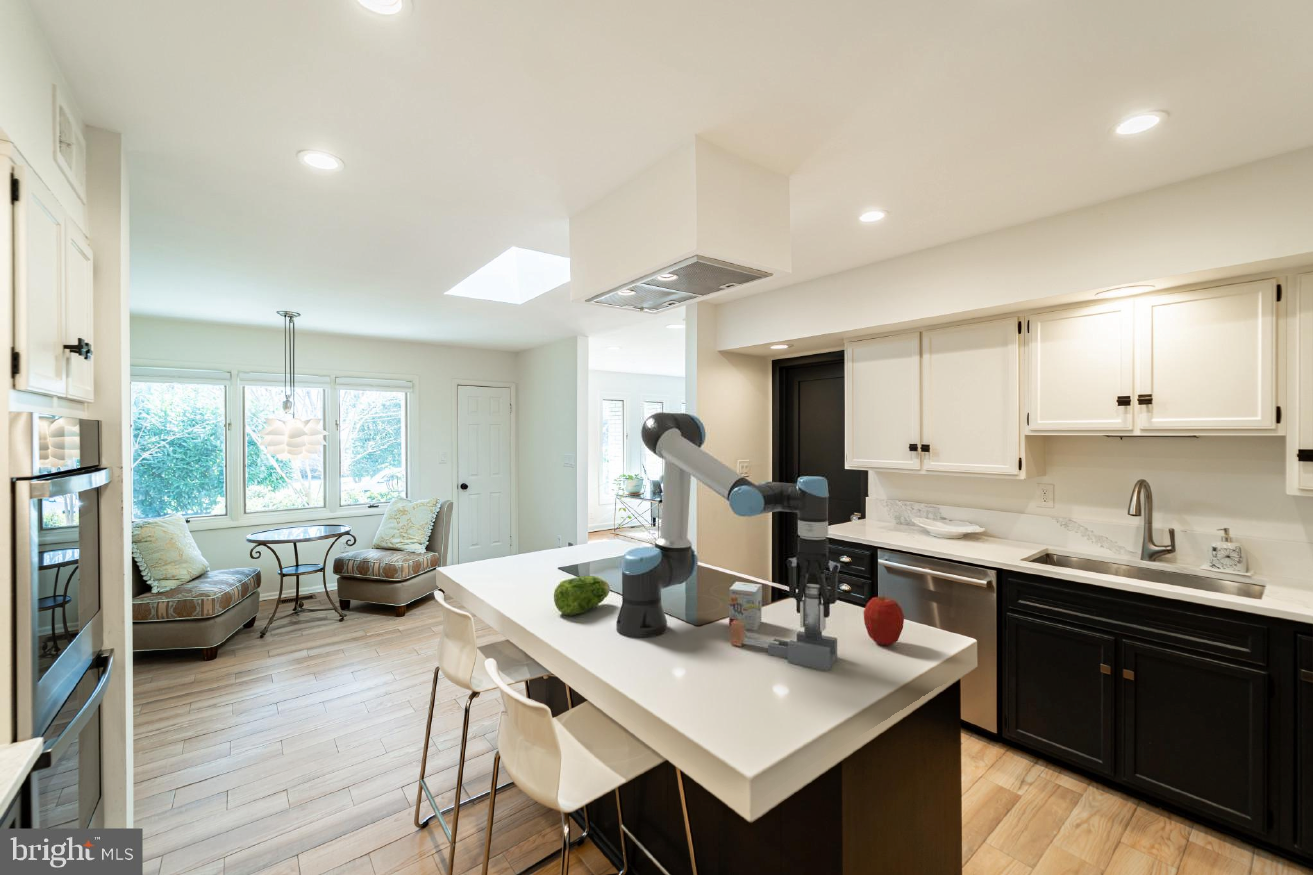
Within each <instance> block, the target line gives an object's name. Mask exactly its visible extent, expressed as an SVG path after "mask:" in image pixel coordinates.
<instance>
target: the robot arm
mask: <svg viewBox="0 0 1313 875" xmlns="http://www.w3.org/2000/svg"><path fill="white" fill-rule="evenodd" d="M640 434H641V435H640V436H641V440H642V443H643V445H644V446H645V447H646V448H647V449H648V450H649V451H650V452H651V453H653V454H654V455H655V456H656V457H659V459H662V460H663V461H664V464H663V465H664V468H663V481H662V482H663V483H662V485H663V486H662V497H661V498H662V500H661V501H662V502H661V514H660V516H661V517H660V518H661V519H660V520H661V521H660V532H659V534H660V536H659V537H658V538H657V539H655V540H654V546H643V547H635V548H632V549H630V550H629V549H628V551H626V552H625V553H624V554H623V556H622V562H621V564H622V565H621V585H622V586H621V589H622V590H621V592H622V593H621V594H622V595H621V598H622V599H621V602H622V603H621V606H620V610H619V612H618V615H617V619H616V622H615V623H616V624H615V625H616V626H615V628H616V629H615V630H616V632H617V633H619V634H620V635H623V636H625V637H632V638H650V637H656V636H660V635H663V634H664V633H666V632H667V630H668V619H667V617H666V613H665V610H664V607H663V604H662V589H667V588H670V587H673V586H677V585H682V584H684V583H685V582H688V581H690V580H691V579H692V578H693V577H695V574H696V572H697V570H698V565H699V561H698V560H699V559H698V556H697V554H696V551H695V549H694V548H693V547H692V546H693V543H692V541H691V540H690V539H689V538H688V530H689V515H690V500H691V498H690V497H691V481H692V480H691V479H692V477H693V478H694V479H696V480H697V481H698V482H700V483H702V484H703V485H704V486H706V487H707V488H709V489H711V491H713V492H714V493H715V494H717V495H719V496H721V497H722V498H723V499H724V500H726V501H727V502H728V505H729V506H730V507H729V508H730V509H731V511H732V512H733V514H735V515H737V516H738V517H742V518H744V517H745V518H746V517H748V518H750V517H756V516H760V515H764V514H768V513H769V514H770V513H774V512H791V513H797V535H798V536H799V537H797V554H796V556H795V557H790V558H788V559H787V560H785V561H786V562H785V563H786V566H787V569H788V596H789V597H790V598H792V599H794V600H795V601H796V603H795V604H796V605H795V606H796V607H795V608H796V609H795V610H796V613H797V614H800V615H799V627H800V628H801V629H804V586H805V585H806V584H808V583H807V582H808V578H809V575H810V574H813V575H816V578H817V581H818V585H819V587H820V591H821V596H822V604H821V605H820V631H822V632H824V631H825V630H826V628H827V626H826V625H827V619H828V618H829V617H830V615H831V610H830V609H831V605H834V604H836V602H837V601H838V588H839V587H838V585H839V584H838V582H839V580H838V578H839V571H840V568H841V564H840V563H836V562H834V561H831V558H830V556H829V539H828V538H827V537H828V536H829V518H828V517H829V497H830V493H829V486H828V480H827V478H825V477H824V476H823V477H822V476H809V475H808V476H807V475H806V476H800V477H798V478H797V482H796V483H791V482H790V483H788V482H779V481H777V482H775V481H762V482H760V483H758V484H755V482H752V481H751V480H749V479H747V478H746V477H745V476H743V475H742V474H741V473H739V472H737V471H736V470H734V469H732V468H731V467H730V466H728V465H727V464H725V463H723V462H722V461H720V460H718V459H717V458H716V457H714V456H713V455H711V454H710V453H709V452H707V451H705V450H703V449H702V446H703V445H704V443H705V441H706V434H707V433H706V428H705V425H704V423H703V422H702V421H701V420H700V418H698V417H697V416H695V415H693V414H690V413H685V412H680V413H679V412H678V413H677V412H676V413H675V412H657V413H653V414H651V415H650V416H648V417H647V418H646V419H645V421H643V424H642V426H641V431H640ZM797 564H798V565H799V566H800V568H801V571H800V579H799V584H798V589H797V568H796V567H797ZM828 566H829V570H830V571H831V573H830V594H829V590H828V585H827V580H826V573H825V570H826V569H827V567H828Z"/></svg>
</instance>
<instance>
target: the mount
mask: <svg viewBox="0 0 1313 875" xmlns="http://www.w3.org/2000/svg"><path fill="white" fill-rule="evenodd" d="M772 641H777V642H780V645H776V644H771V643H770V644H768V648H767V651H768V652H767V655H768V656H773V657H778V658H781V659H782V658H783V659H787V663H788V664H793V665H797V666H798V665H799V666H802V667H805V668H806V667H808V668H812V669H817V670H821V671H826V672H828V671H829V670H830V669H831V667H832V666H833V664H834V663H835V661H836V660H837V658H838V637H834V636H830V635H823V634H822V639H820V640H810V639H807V638H805V637H804V631H801V630H800V631H797V633H796V640H785V639H777V638H773V640H772Z"/></svg>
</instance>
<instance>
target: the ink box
mask: <svg viewBox="0 0 1313 875" xmlns="http://www.w3.org/2000/svg"><path fill="white" fill-rule="evenodd" d="M762 595H763V585H762V584H758V583H752V582H751V583H750V582H744V581H743V582H742V581H735V582H734V583H733V584H732V585H731V586H730V587H729V600H728V602H729V604H728V606H729V611H728V612H729V614H728V616H729V618H728V619H729V620H728V627H730V628H731V622H733V621H734V620H740V621H745V630H753V631H756V630H757V629H758V628H759V627H760V624H761V623H762V618H763V617H762V614H763V613H762V607H763V605H762V603H763V600H762V598H763V596H762Z"/></svg>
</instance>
